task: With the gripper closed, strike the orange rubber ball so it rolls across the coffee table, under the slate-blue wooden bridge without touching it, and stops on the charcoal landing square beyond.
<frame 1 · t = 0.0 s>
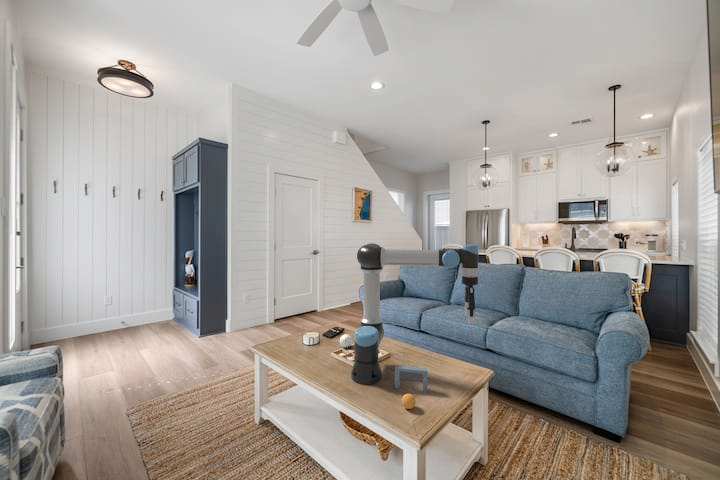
hand: (469, 318, 153), 28 cm above the table, tool pointing down, fingers open, 13 cm apart
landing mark: (412, 373, 155), on the table
ball: (408, 401, 125), on the table
bridge: (411, 387, 141), on the table
geometric ball: (346, 347, 190), on the table
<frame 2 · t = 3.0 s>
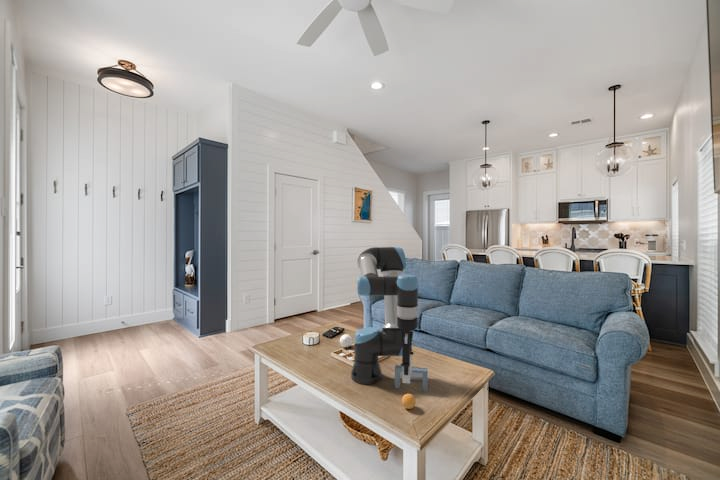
hand: (407, 376, 116), 17 cm above the table, tool pointing down, fingers open, 8 cm apart
nothing on the table moved.
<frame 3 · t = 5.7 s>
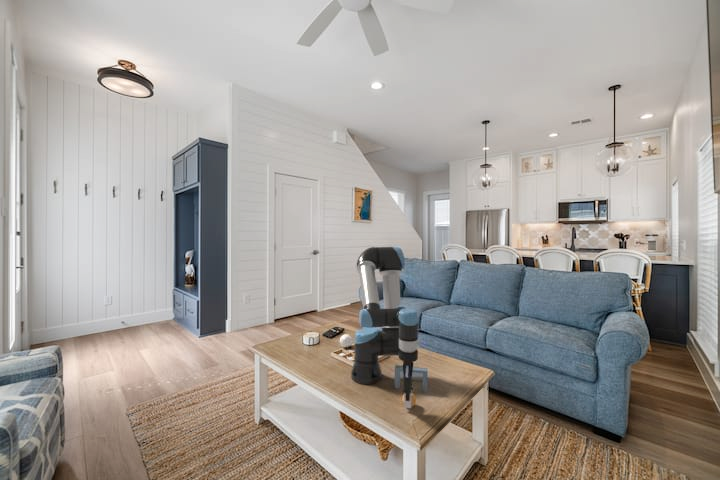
hand: (407, 406, 123), 2 cm above the table, tool pointing down, fingers closed
ball: (409, 399, 127), on the table, touching gripper
everything else where it was.
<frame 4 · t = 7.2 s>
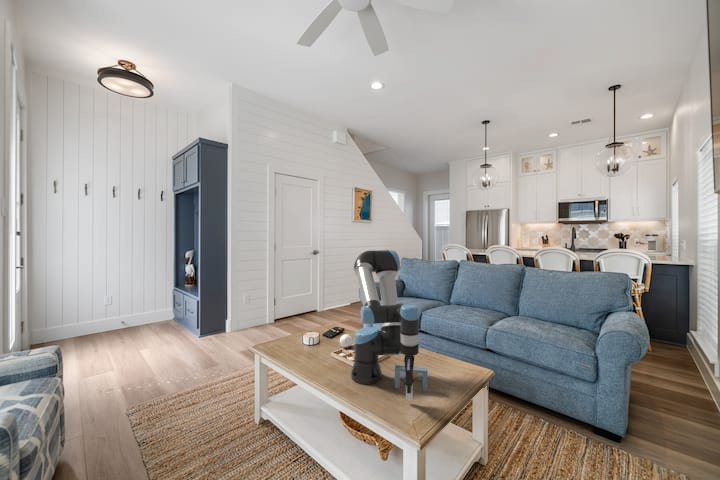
hand: (409, 399, 128), 2 cm above the table, tool pointing down, fingers closed
ball: (412, 372, 150), on the table
everything else where it was.
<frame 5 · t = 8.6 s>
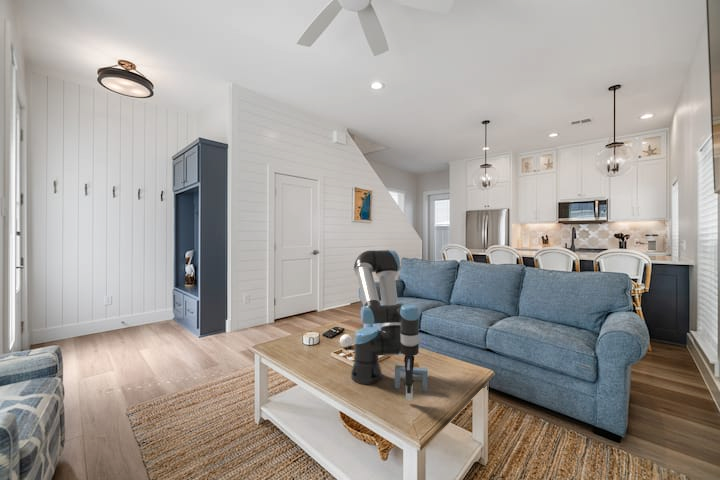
hand: (409, 399, 128), 2 cm above the table, tool pointing down, fingers closed
ball: (413, 366, 157), on the table
everything else where it was.
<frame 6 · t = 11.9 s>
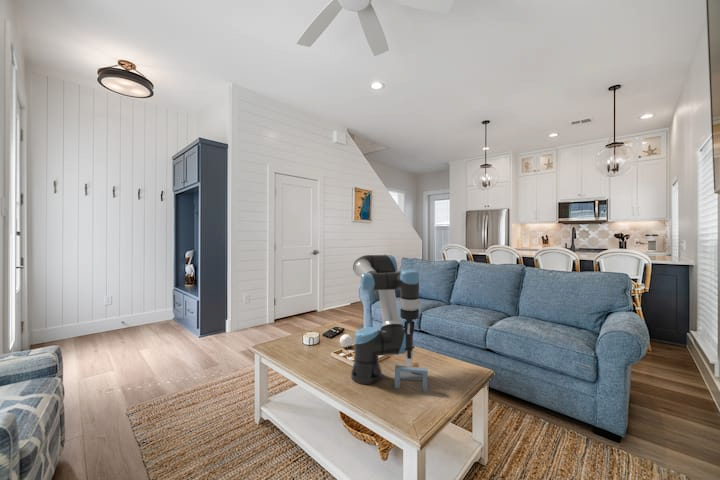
hand: (409, 364, 128), 16 cm above the table, tool pointing down, fingers closed
nothing on the table moved.
at the end: ball 2.4 cm from the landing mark (horizontally); ball never touched bridge; ball at rest at the end (0.0 cm/s) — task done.
